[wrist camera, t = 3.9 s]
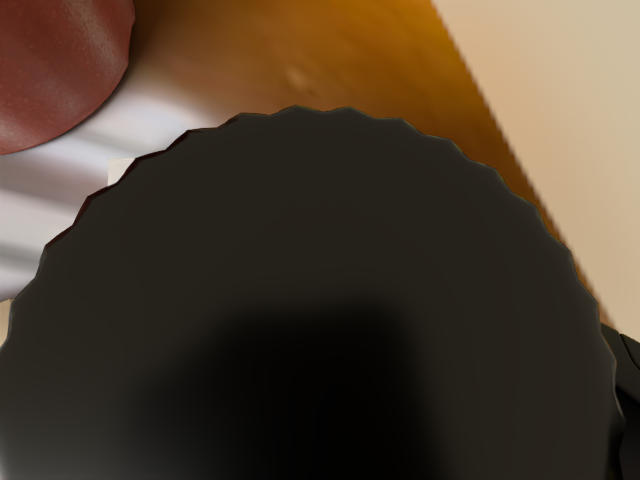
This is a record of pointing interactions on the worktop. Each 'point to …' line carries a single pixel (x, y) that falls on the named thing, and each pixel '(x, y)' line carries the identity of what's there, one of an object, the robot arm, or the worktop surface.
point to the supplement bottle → (307, 320)
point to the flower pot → (58, 64)
